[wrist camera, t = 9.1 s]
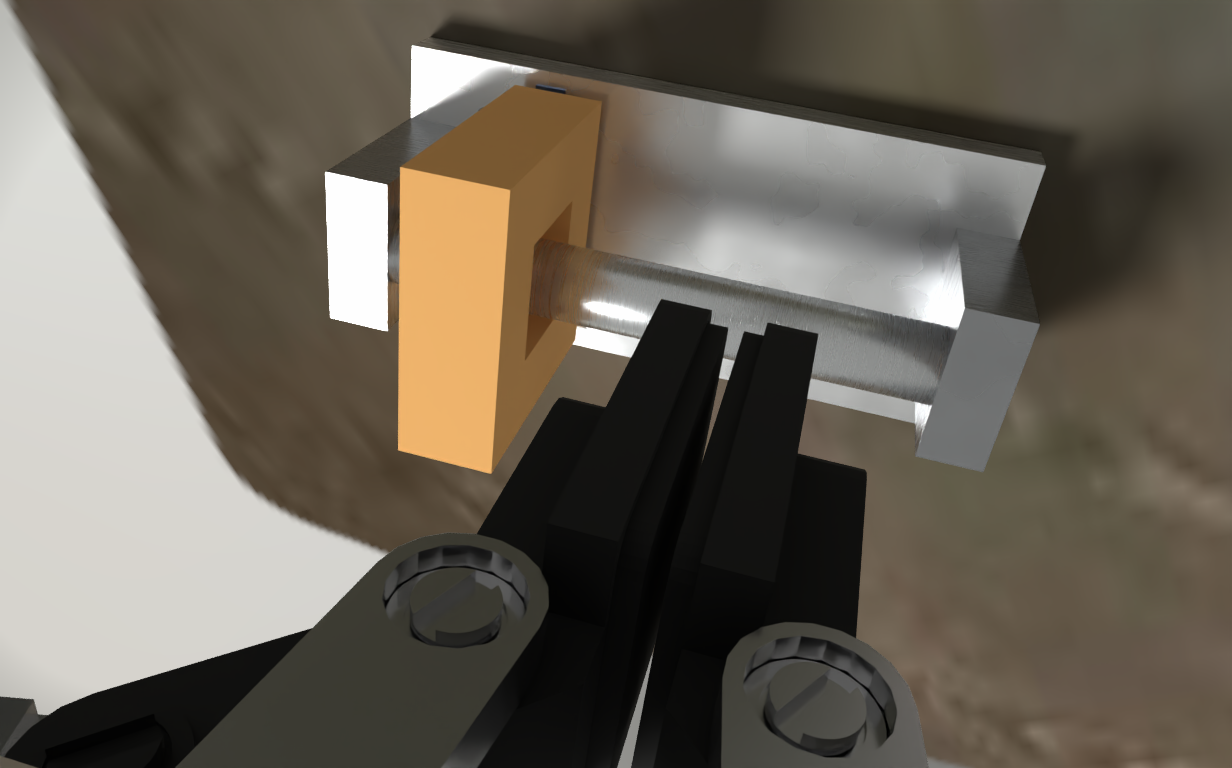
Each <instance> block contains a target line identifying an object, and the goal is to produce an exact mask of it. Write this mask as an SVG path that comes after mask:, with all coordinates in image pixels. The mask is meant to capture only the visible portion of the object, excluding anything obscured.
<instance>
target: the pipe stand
mask: <svg viewBox="0 0 1232 768" xmlns="http://www.w3.org/2000/svg"><path fill="white" fill-rule="evenodd" d="M514 85H519V86H524V87H529V88H535V89H540V90H545V91H550V92H555V93H561V94H566V95H571V96H576V97H581V98H586V99H592V100H597V101H602V105H601V114H600V123H599V132H598V141H597V150H596V159H595V168H594V177H593V186H592V195H591V204H590V213H589V222H588V231H587V240H586V248H584V247H580V246H575V245H570V244H566V243H561V242H557V241H552V240H547V239H543V238H540V239H539V240H538V241H537V243H536V244H535V245H534V254H533V267H532V279H531V291H530V303H529V314H531V315H536V316H540V317H545V318H549V319H553V320H558V321H562V322H566V323H571V324H575V325H577V330H576V339H575V341H574V343H573V344H575V345H579V346H584V347H588V348H592V349H597V350H601V351H605V352H610V353H614V354H618V355H622V356H627V357H632V355H633V353H634V351H635V349H636V347H637V345H638V343H639V341H640V339H641V337H642V335H643V333H644V331H645V329H646V327H647V325H648V323H649V321H650V319H651V317H652V315H653V313H654V311H655V309H656V307H657V306H658V304H659V302H660V300H661V299H664V300H669V301H673V302H678V303H682V304H687V305H691V306H696V307H700V308H705V309H709V310H712V317H711V324H715V325H719V326H724V327H728V335H727V341H726V346H725V351H724V356H723V361H722V366H721V371H720V376H719V378H722V379H726V380H729V377H730V374H731V371H732V368H733V364H734V361H735V358H736V355H737V352H738V349H739V346H740V342H741V339H742V336H743V333H744V331H746V332H750V333H755V334H759V335H764V333H765V329H766V326H767V322H768V323H773V324H777V325H782V326H786V327H791V328H795V329H800V330H804V331H809V332H813V333H818V340H817V346H816V352H815V357H814V363H813V369H812V374H811V380H810V385H809V391H808V397H807V398H808V399H812V400H817V401H821V402H825V403H830V404H834V405H838V406H843V407H847V408H851V409H856V410H860V411H864V412H868V413H873V414H877V415H881V416H886V417H890V418H894V419H899V420H903V421H907V422H912V423H915V456H917V457H921V458H925V459H929V460H934V461H938V462H942V463H946V464H951V465H955V466H959V467H963V468H967V469H972V470H976V471H980V472H983V471H984V469H985V466H986V464H987V461H988V458H989V456H990V453H991V451H992V448H993V445H994V443H995V440H996V437H997V435H998V432H999V430H1000V427H1001V424H1002V422H1003V419H1004V417H1005V414H1006V411H1007V409H1008V406H1009V404H1010V401H1011V398H1012V396H1013V393H1014V391H1015V388H1016V385H1017V383H1018V380H1019V378H1020V375H1021V372H1022V370H1023V367H1024V365H1025V362H1026V359H1027V357H1028V354H1029V352H1030V349H1031V346H1032V344H1033V341H1034V338H1035V336H1036V333H1037V331H1038V328H1039V325H1040V322H1039V318H1038V314H1037V310H1036V306H1035V301H1034V297H1033V293H1032V289H1031V285H1030V281H1029V277H1028V273H1027V268H1026V264H1025V260H1024V256H1023V252H1022V248H1021V244H1020V238H1021V235H1022V232H1023V230H1024V227H1025V224H1026V221H1027V218H1028V215H1029V213H1030V210H1031V207H1032V204H1033V201H1034V199H1035V196H1036V193H1037V190H1038V187H1039V184H1040V182H1041V179H1042V176H1043V173H1044V170H1045V168H1046V164H1045V162H1044V159H1043V156H1042V153H1041V152H1040V151H1034V150H1029V149H1024V148H1018V147H1013V146H1008V145H1002V144H997V143H992V142H986V141H981V140H976V139H970V138H965V137H960V136H954V135H949V134H944V133H938V132H933V131H928V130H923V129H917V128H912V127H907V126H901V125H896V124H891V123H885V122H880V121H875V120H869V119H864V118H859V117H853V116H848V115H843V114H837V113H832V112H827V111H821V110H816V109H811V108H805V107H800V106H795V105H789V104H784V103H779V102H773V101H768V100H763V99H757V98H752V97H747V96H742V95H736V94H731V93H726V92H720V91H715V90H710V89H704V88H699V87H694V86H688V85H683V84H678V83H672V82H667V81H662V80H656V79H651V78H646V77H640V76H635V75H630V74H624V73H619V72H614V71H608V70H603V69H598V68H592V67H587V66H582V65H576V64H571V63H566V62H561V61H555V60H550V59H545V58H539V57H534V56H529V55H523V54H518V53H513V52H507V51H502V50H497V49H491V48H486V47H481V46H475V45H470V44H465V43H459V42H454V41H449V40H443V39H438V38H433V37H429V38H427V39H425V40H422V41H420V42H418V43H416V44H414V45H412V92H411V118H410V119H409V120H407V121H405V122H404V123H402V124H401V125H399V126H397V127H396V128H394V129H393V130H391V131H390V132H388V133H386V134H385V135H383V136H382V137H380V138H378V139H377V140H375V141H374V142H372V143H370V144H369V145H367V146H366V147H364V148H363V149H361V150H359V151H358V152H356V153H355V154H353V155H351V156H350V157H348V158H347V159H345V160H344V161H342V162H340V163H339V164H337V165H336V166H334V167H332V168H331V169H329V170H328V171H326V202H327V231H328V261H329V291H330V318H333V319H338V320H342V321H346V322H350V323H355V324H359V325H363V326H367V327H371V328H376V329H380V330H384V331H388V330H389V329H390V328H391V327H392V326H393V325H394V324H395V323H396V322H397V321H398V320H399V261H400V167H401V166H402V165H404V164H405V163H406V162H408V161H409V160H411V159H412V158H413V157H415V156H416V155H418V154H419V153H420V152H422V151H423V150H425V149H426V148H427V147H429V146H430V145H432V144H433V143H434V142H436V141H437V140H439V139H440V138H441V137H443V136H444V135H446V134H447V133H448V132H450V131H451V130H453V129H454V128H455V127H457V126H458V125H460V124H461V123H462V122H464V121H465V120H467V119H468V118H469V117H471V116H472V115H474V114H475V113H476V112H478V111H479V110H481V109H482V108H483V107H485V106H486V105H488V104H489V103H491V102H492V101H493V100H495V99H496V98H498V97H499V96H500V95H502V94H503V93H505V92H506V91H507V90H509V89H510V88H512V87H513V86H514Z"/></svg>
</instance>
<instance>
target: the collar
mask: <svg viewBox="0 0 1232 768" xmlns="http://www.w3.org/2000/svg"><path fill="white" fill-rule="evenodd" d="M601 105H602V101H597V100H592V99H586V98H581V97H576V96H571V95H566V94H561V93H555V92H550V91H545V90H540V89H535V88H529V87H524V86H519V85H514V86H513V87H512V88H510V89H509V90H507V91H506V92H505V93H503V94H502V95H500V96H499V97H498V98H496V99H495V100H493V101H492V102H491V103H489V104H488V105H486V106H485V107H483V108H482V109H481V110H479V111H478V112H476V113H475V114H474V115H472V116H471V117H469V118H468V119H467V120H465V121H464V122H462V123H461V124H460V125H458V126H457V127H455V128H454V129H453V130H451V131H450V132H448V133H447V134H446V135H444V136H443V137H441V138H440V139H439V140H437V141H436V142H434V143H433V144H432V145H430V146H429V147H427V148H426V149H425V150H423V151H422V152H420V153H419V154H418V155H416V156H415V157H413V158H412V159H411V160H409V161H408V162H406V163H405V164H404V165H402V166H401V167H400V261H399V409H398V450H400V451H404V452H408V453H412V454H415V455H419V456H423V457H427V458H431V459H435V460H439V461H443V462H447V463H451V464H455V465H459V466H462V467H466V468H470V469H474V470H478V471H482V472H486V473H490V474H491V473H492V472H493V470H494V469H495V467H496V465H497V464H498V462H499V461H500V459H501V458H502V456H503V454H504V453H505V451H506V450H507V448H508V446H509V445H510V443H511V442H512V440H513V438H514V437H515V435H516V434H517V432H518V430H519V429H520V427H521V426H522V424H523V422H524V421H525V419H526V418H527V416H528V414H529V413H530V411H531V410H532V408H533V406H534V405H535V403H536V402H537V400H538V398H539V397H540V395H541V394H542V392H543V391H544V389H545V387H546V386H547V384H548V383H549V381H550V379H551V378H552V376H553V375H554V373H555V371H556V370H557V368H558V367H559V365H560V363H561V362H562V360H563V359H564V357H565V355H566V354H567V352H568V351H569V349H570V347H571V346H572V344H573V343H574V341H575V339H576V330H577V325H575V324H571V323H566V322H562V321H558V320H553V319H549V318H545V317H540V316H536V315H531V314H529V303H530V291H531V279H532V267H533V254H534V245H535V244H536V243H537V241H538V240H539V239H540V238H543V239H547V240H552V241H557V242H561V243H566V244H570V245H575V246H580V247H584V248H586V240H587V231H588V222H589V213H590V204H591V195H592V186H593V177H594V168H595V159H596V150H597V141H598V132H599V123H600V114H601Z"/></svg>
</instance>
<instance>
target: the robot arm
mask: <svg viewBox="0 0 1232 768" xmlns="http://www.w3.org/2000/svg"><path fill="white" fill-rule="evenodd" d="M711 317H712V310H709V309H705V308H700V307H696V306H691V305H687V304H682V303H678V302H673V301H669V300H664V299H661V300H660V302H659V304H658V306H657V307H656V309H655V311H654V313H653V315H652V317H651V319H650V321H649V323H648V325H647V327H646V329H645V331H644V333H643V335H642V337H641V339H640V341H639V343H638V345H637V347H636V349H635V351H634V353H633V355H632V357H631V359H630V361H629V363H628V365H627V367H626V369H625V371H624V373H623V375H622V377H621V379H620V381H619V383H618V384H617V386H616V388H615V390H614V392H613V394H612V396H611V398H610V400H609V402H608V404H607V406H606V407H602V406H598V405H594V404H589V403H585V402H581V401H577V400H573V399H569V398H564V397H562V398H559V399H558V400H557V401H556V403H555V404H554V405H553V407H552V408H551V410H550V412H549V414H548V415H547V417H546V419H545V420H544V422H543V424H542V425H541V427H540V429H539V430H538V432H537V434H536V435H535V437H534V439H533V440H532V442H531V444H530V445H529V447H528V449H527V450H526V452H525V454H524V456H523V457H522V459H521V461H520V462H519V464H518V466H517V467H516V469H515V471H514V472H513V474H512V476H511V477H510V479H509V481H508V482H507V484H506V486H505V487H504V489H503V491H502V493H501V494H500V496H499V498H498V499H497V501H496V503H495V504H494V506H493V508H492V509H491V511H490V513H489V514H488V516H487V518H486V519H485V521H484V523H483V524H482V526H481V528H480V529H479V531H478V533H477V534H467V533H444V534H438V535H432V536H425V537H421V538H418V539H416V540H413V541H411V542H408V543H406V544H403V545H401V546H398V547H397V548H395V549H394V550H393V551H391V552H390V553H389V554H387V555H386V556H385V557H383V558H382V559H381V560H379V561H378V562H377V563H376V564H375V565H374V566H373V567H372V568H371V569H370V570H369V572H367V573H366V574H365V575H364V576H363V577H362V578H361V579H360V580H359V582H357V584H356V585H355V586H354V587H353V588H352V589H351V590H350V591H349V592H348V593H347V594H346V595H345V596H344V597H343V598H342V599H341V600H340V601H339V602H338V603H337V604H336V605H335V606H334V607H333V608H332V609H331V610H330V611H329V612H328V613H327V614H326V615H325V616H324V617H323V618H322V619H321V620H320V621H319V622H318V623H317V624H316V625H315V626H314V627H313V628H311V629H308V630H305V631H301V632H298V633H295V634H291V635H288V636H284V637H281V638H278V639H275V640H271V641H268V642H264V643H261V644H258V645H255V646H251V647H248V648H244V649H241V650H238V651H234V652H231V653H228V654H224V655H221V656H217V657H214V658H211V659H207V660H204V661H201V662H198V663H194V664H191V665H187V666H184V667H181V668H177V669H174V670H171V671H167V672H164V673H161V674H157V675H154V676H151V677H147V678H144V679H140V680H137V681H134V682H130V683H127V684H124V685H121V686H117V687H114V688H110V689H107V690H104V691H100V692H97V693H94V694H91V695H89V696H86V697H84V698H82V699H79V700H77V701H74V702H72V703H69V704H67V705H64V706H62V707H60V708H59V709H57V710H56V711H54V712H53V713H51V714H50V715H39V714H38V713H37V710H36V706H35V702H34V700H33V699H23V698H10V697H0V768H617V766H618V763H619V759H620V756H621V753H622V750H623V746H624V743H625V740H626V737H627V733H628V730H629V726H630V724H631V720H632V717H633V714H634V711H635V707H636V704H637V700H638V697H639V694H640V691H641V687H642V684H643V681H644V678H645V675H646V671H647V668H648V665H649V662H650V658H651V655H652V652H653V648H654V653H653V658H652V663H651V668H650V673H649V678H648V684H647V689H646V694H645V699H644V704H643V710H642V715H641V720H640V725H639V730H638V735H637V740H636V745H635V751H634V756H633V761H632V766H631V768H929V766H928V761H927V756H926V751H925V746H924V741H923V736H922V731H921V725H920V720H919V715H918V710H917V707H916V704H915V702H914V699H913V697H912V694H911V691H910V689H909V686H908V684H907V683H906V682H905V680H904V679H903V678H902V676H901V675H900V674H899V673H898V671H897V670H896V669H895V667H894V666H893V665H892V663H891V662H889V661H888V660H887V659H886V658H884V657H883V656H882V655H881V654H879V653H878V652H877V651H876V650H874V649H873V648H872V647H871V646H869V645H868V644H866V643H864V642H862V641H860V640H858V639H856V629H857V615H858V600H859V585H860V571H861V556H862V541H863V527H864V512H865V497H866V483H867V472H866V471H865V470H864V469H860V468H856V467H851V466H847V465H843V464H839V463H835V462H831V461H827V460H822V459H818V458H814V457H810V456H806V455H802V454H797V453H798V448H799V442H800V436H801V431H802V425H803V419H804V414H805V408H806V402H807V397H808V391H809V385H810V380H811V374H812V369H813V363H814V357H815V352H816V346H817V340H818V333H813V332H809V331H804V330H800V329H795V328H791V327H786V326H782V325H777V324H773V323H768V322H767V326H766V329H765V333H764V335H759V334H755V333H750V332H746V331H744V333H743V336H742V339H741V342H740V346H739V349H738V352H737V355H736V358H735V361H734V364H733V368H732V371H731V374H730V377H729V380H728V383H727V386H726V390H725V393H724V396H723V399H722V402H721V405H720V408H719V412H718V415H717V418H716V421H715V424H714V427H713V430H712V433H711V437H710V440H709V443H708V446H707V449H706V452H705V455H704V450H705V445H706V440H707V435H708V430H709V425H710V420H711V415H712V410H713V405H714V400H715V395H716V390H717V385H718V380H719V376H720V371H721V366H722V361H723V356H724V351H725V346H726V341H727V335H728V327H724V326H719V325H715V324H711ZM703 455H704V459H703ZM702 460H703V462H702ZM654 645H655V647H654Z"/></svg>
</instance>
